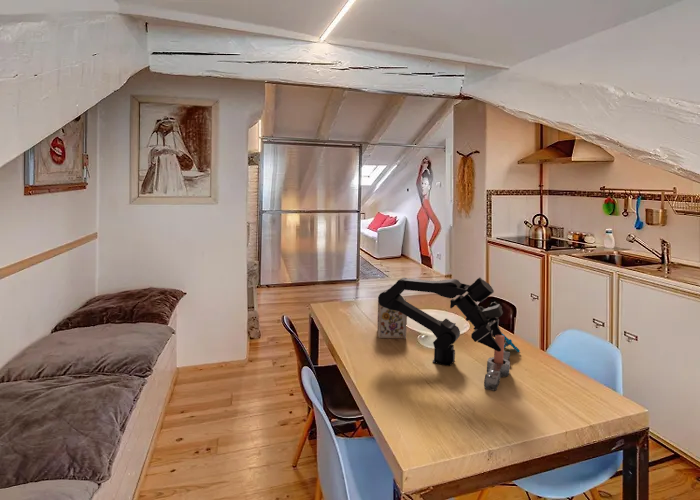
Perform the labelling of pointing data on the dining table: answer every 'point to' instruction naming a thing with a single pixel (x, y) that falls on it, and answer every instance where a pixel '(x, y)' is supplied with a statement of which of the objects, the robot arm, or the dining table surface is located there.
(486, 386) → the grey jointed bar
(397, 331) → the decorative jar
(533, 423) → the dining table surface
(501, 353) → the pin
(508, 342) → the gear
